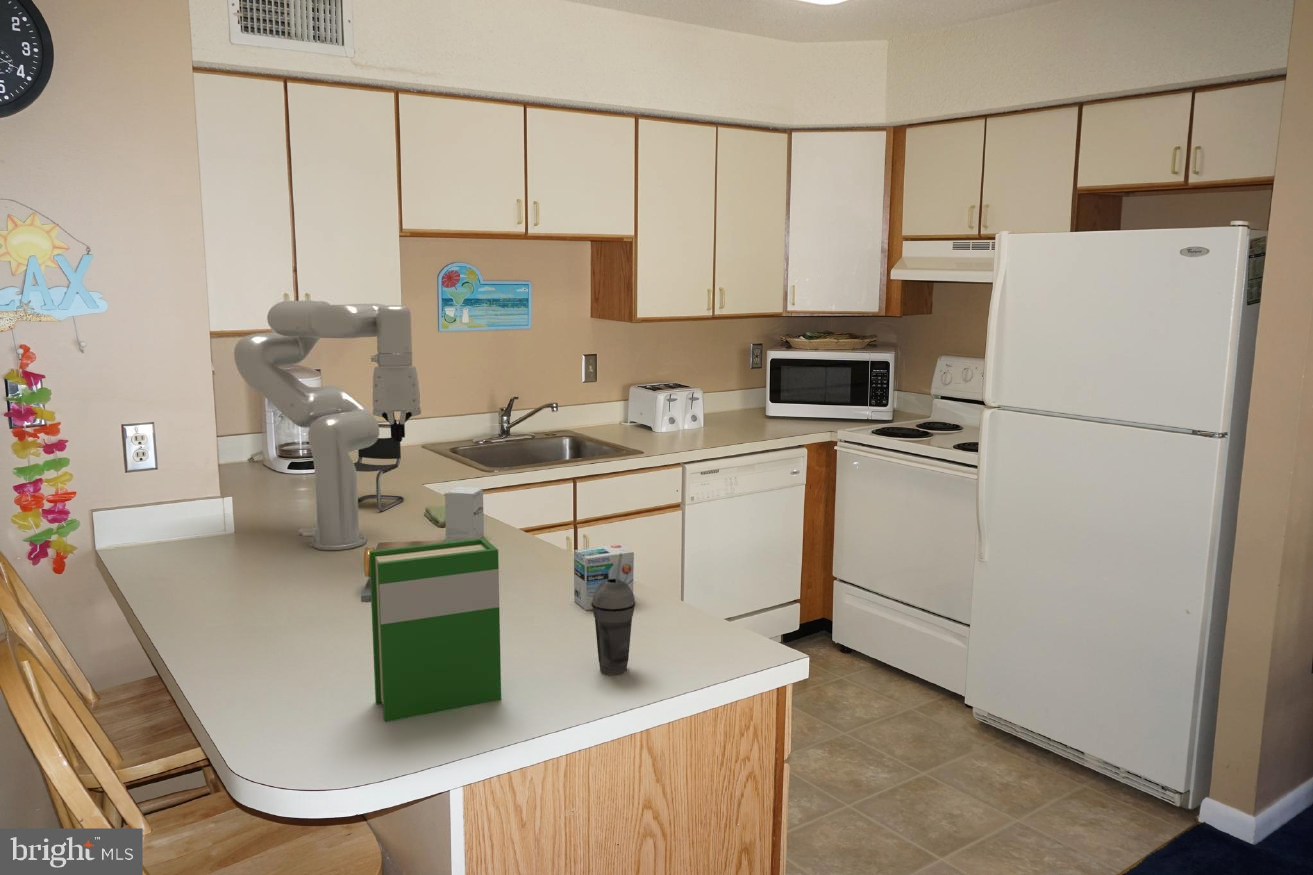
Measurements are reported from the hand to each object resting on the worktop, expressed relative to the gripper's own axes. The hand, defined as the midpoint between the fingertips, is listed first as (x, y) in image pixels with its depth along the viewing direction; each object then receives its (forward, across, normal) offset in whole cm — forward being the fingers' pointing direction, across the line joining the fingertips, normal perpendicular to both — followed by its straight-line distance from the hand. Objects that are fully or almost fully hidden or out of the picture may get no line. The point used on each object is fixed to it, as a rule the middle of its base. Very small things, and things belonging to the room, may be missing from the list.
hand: (398, 440), depth 222 cm
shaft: (+24, +5, -24) cm, 35 cm away
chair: (+27, -13, +52) cm, 60 cm away
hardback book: (+27, +13, -81) cm, 86 cm away
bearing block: (+27, +6, -24) cm, 37 cm away
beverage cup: (+27, +41, -73) cm, 88 cm away
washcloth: (+28, +10, +34) cm, 45 cm away
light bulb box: (+27, +43, -39) cm, 64 cm away
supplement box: (+27, +14, +12) cm, 33 cm away
